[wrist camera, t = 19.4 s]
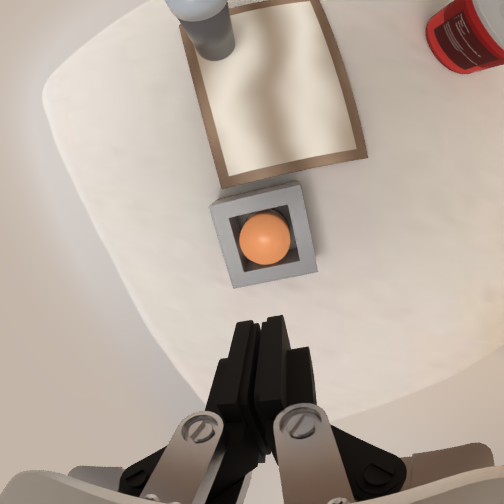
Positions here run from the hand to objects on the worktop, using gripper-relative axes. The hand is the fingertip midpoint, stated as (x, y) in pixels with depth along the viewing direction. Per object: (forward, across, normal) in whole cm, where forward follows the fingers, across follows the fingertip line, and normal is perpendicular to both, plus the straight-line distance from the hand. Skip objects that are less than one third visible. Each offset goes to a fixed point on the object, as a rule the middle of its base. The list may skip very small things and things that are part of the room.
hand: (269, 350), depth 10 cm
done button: (+18, +1, 0) cm, 18 cm away
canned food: (+20, -25, -17) cm, 36 cm away
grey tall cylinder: (+18, +1, -18) cm, 26 cm away
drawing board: (+19, -3, -14) cm, 24 cm away
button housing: (+19, +1, 0) cm, 19 cm away
